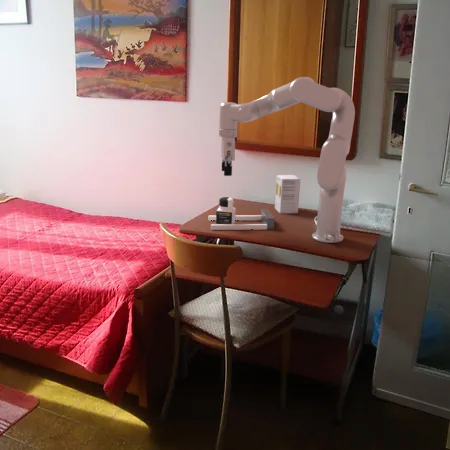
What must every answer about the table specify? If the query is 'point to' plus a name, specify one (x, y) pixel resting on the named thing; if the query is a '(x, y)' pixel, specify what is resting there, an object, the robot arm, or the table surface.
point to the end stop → (267, 218)
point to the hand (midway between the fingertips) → (226, 173)
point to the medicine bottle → (225, 211)
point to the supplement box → (287, 194)
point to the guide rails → (238, 226)
